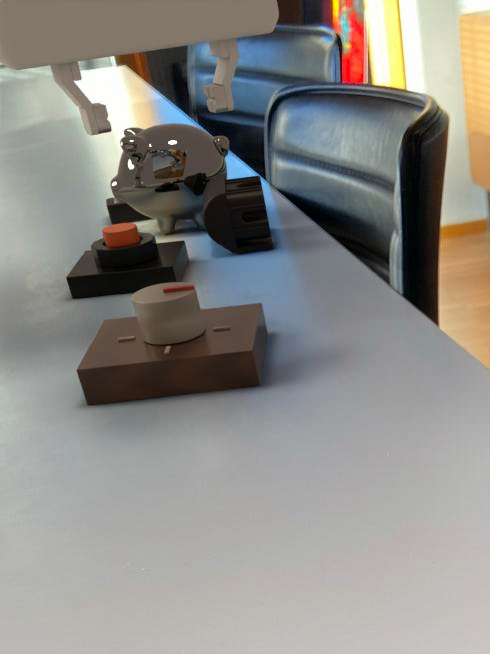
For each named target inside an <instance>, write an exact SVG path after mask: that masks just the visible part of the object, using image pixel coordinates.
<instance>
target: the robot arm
mask: <svg viewBox="0 0 490 654" xmlns="http://www.w3.org/2000/svg"><path fill="white" fill-rule="evenodd" d="M279 11H280V10H279V4H278V1H277V0H0V63H1V64H2V65H4V67H5V68H8V69H11V70H15V71H22V70H29V69H36V68H42V67H48V66H49V67H50V70H51V75H52V77H53V80H54V82H55V84H57V86H58V87H59V88H60V89H61V90H62V91H63V93H64V94H65V95H66V97H68V98H69V99H70V101H71V102H72V103H73V104H74V105H75V106H76V107H78V111H79V114H80V117H81V121H82V122H81V123H82V125H83V128H84V131H85V133H86V134H87V135H89V136H97V135H101V134H107V133H111V132H112V131H113V130H112V124H111V122H110V121H109V119H108V117H109V113H108V109H107V106H106V104H103V103H102V104H101V102H94V103H93V102H92V101H91V100H90V99H89V97H88V96H87V95H86V94H85V93H84V92H83V91H82V90H81V88H80V87H79V86H78V84H76V82H78V81H82V79H83V77H82V73H81V70H80V65H79V62H84V61H90V60H98V59H104V58H111V57H117V56H124V55H130V54H139V53H145V52H151V51H158V50H165V49H172V48H179V47H185V46H186V47H187V46H191V45H200V44H207V43H208V47H209V52H210V56H212V57H214V58H217V62H216V66H215V70H214V75H213V80H212V83H209V84H203V86H202V87H203V93H204V96H205V97H206V98H207V99H206V106H207V108H208V111H209V112H210V113H213V114H219V113H226V112H230V111H231V112H232V111H234V109H235V103H234V98H233V93H232V87H231V84H232V83H233V79H234V76H235V73H236V69H237V66H238V62H239V60H240V51H239V45H238V41H237V39H241V38H247V37H253V36H259V35H260V36H261V35H267V34H271V33H273V32H274V30H275V27H276V25H277V23H278V21H279V17H280V12H279Z"/></svg>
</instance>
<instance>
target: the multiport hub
mask: <svg viewBox="0 0 490 654" xmlns="http://www.w3.org/2000/svg"><path fill="white" fill-rule="evenodd" d="M105 203H106V209H107V213H108V217H109V221H110V223H111V225H114V224H120V223H133V222H136V221H137V222H139V221H144V220H152V219H153V218H150V217H148V216H145V215H143V214H141V213H139V212H138V211H136V210H134V209H133V208H132V207H130V206H129V205H128V204H127V203H125V202H123V201H121V200H118V199H116V198H115V197H114V196H113V197H108V198H106V199H105Z"/></svg>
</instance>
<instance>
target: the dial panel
mask: <svg viewBox="0 0 490 654" xmlns="http://www.w3.org/2000/svg"><path fill="white" fill-rule="evenodd" d="M200 309H201V308H200ZM201 313H202V317H203V322H204V326H205V331H204V332H203V333H202V334H201V335H199V336H197V337H195V338H193V339H191V340H188V341H184V342H180V343H175V344H166V345H157V344H150V343H147V342H145V341H144V340H143V338H142V334H141V331H140V327H139V323H138V320H137V316H136V315H135V316H129V317H120V318H119V317H117V318H109V319H104V320H103V321H102V323H101V324H100V327H99V328H98V330H97V332H96V334H95V335H94V338H92V341H91V343H90V344H89V347H88V348H87V350H86V351H85V353H84V356H83V357H82V359H81V360H80V363H79V364H78V366H77V368H76V370H75V372H76V374H77V377H78V380H79V383H80V386H81V391H82V393H83V396H84V398H85V402H86V405H87V406H91V405H92V406H93V405H100V404H108V403H109V404H110V403H117V402H118V403H119V402H126V401H128V402H129V401H134V400H135V401H136V400H144V399H145V400H146V399H151V398H152V399H153V398H163V397H171V396H172V397H173V396H180V395H187V394H188V395H189V394H198V393H207V392H215V391H216V392H217V391H225V390H235V389H242V388H251V387H259V386H261V381H262V380H261V379H262V374H263V370H264V369H263V368H264V361H265V356H266V350H267V345H268V339H269V332H268V328H267V323H266V322H267V321H266V318H265V312H264V307H263V302H256V303H248V304H238V305H228V306H220V307H219V306H218V307H212V308H211V307H209V308H202V309H201Z"/></svg>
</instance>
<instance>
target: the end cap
mask: <svg viewBox="0 0 490 654" xmlns="http://www.w3.org/2000/svg"><path fill="white" fill-rule="evenodd" d="M203 224H204V227H205V229H204V230H205V232H206V234H207V235H208V237H209V238H210V239H211V240H212V241H213V242H214V243H215V244H216V245H218V246H220V247H223V249H225V250H227V251H229V252H231V253H233V254H245V253H246V254H247V253H253V252H254V253H255V252H261V251H267V250H272V249H274V242H273V238H272V237H273V236H272V232H271V226H270V221H269V216H268V211H267V205H266V200H265V195H264V190H263V184H262V178H261V176H260V175H252V176H244V177H243V176H242V177H235V178H227V179H225V175H224V173H223V174H219V175H217V176H215V177H213V178H212V179H211V180H210V181H209V182H208V183H207V185H206V187H205V190H204V193H203Z"/></svg>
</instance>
